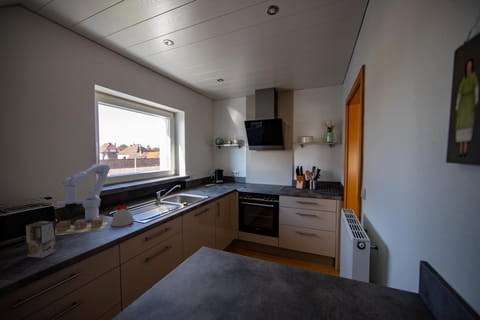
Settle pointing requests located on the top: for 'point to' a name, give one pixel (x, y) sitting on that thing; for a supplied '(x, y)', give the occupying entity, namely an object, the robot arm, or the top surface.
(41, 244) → the coffee box
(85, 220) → the one bar block
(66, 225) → the plain block
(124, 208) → the white red-topped dome
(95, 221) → the two bar block
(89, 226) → the board
